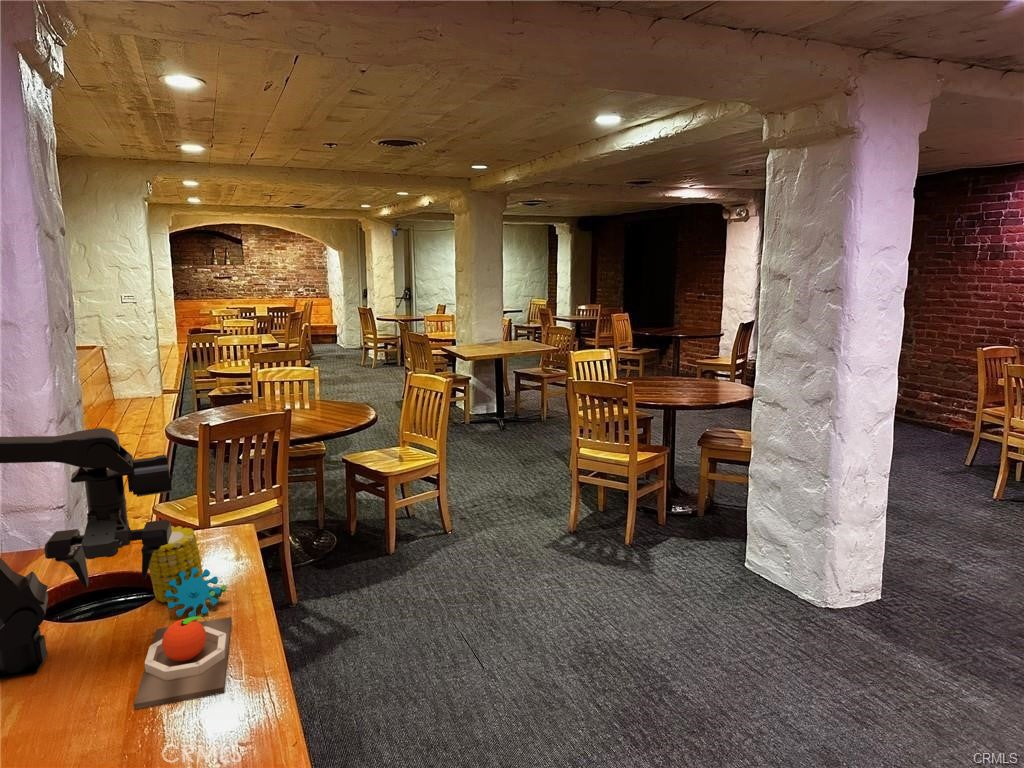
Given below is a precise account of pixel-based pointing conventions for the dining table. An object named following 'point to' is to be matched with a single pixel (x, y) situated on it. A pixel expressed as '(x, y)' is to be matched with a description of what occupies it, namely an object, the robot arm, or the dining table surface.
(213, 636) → the seat ring
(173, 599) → the food
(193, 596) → the blue knobbed toy
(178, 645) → the clementine
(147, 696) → the board
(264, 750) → the dining table surface
